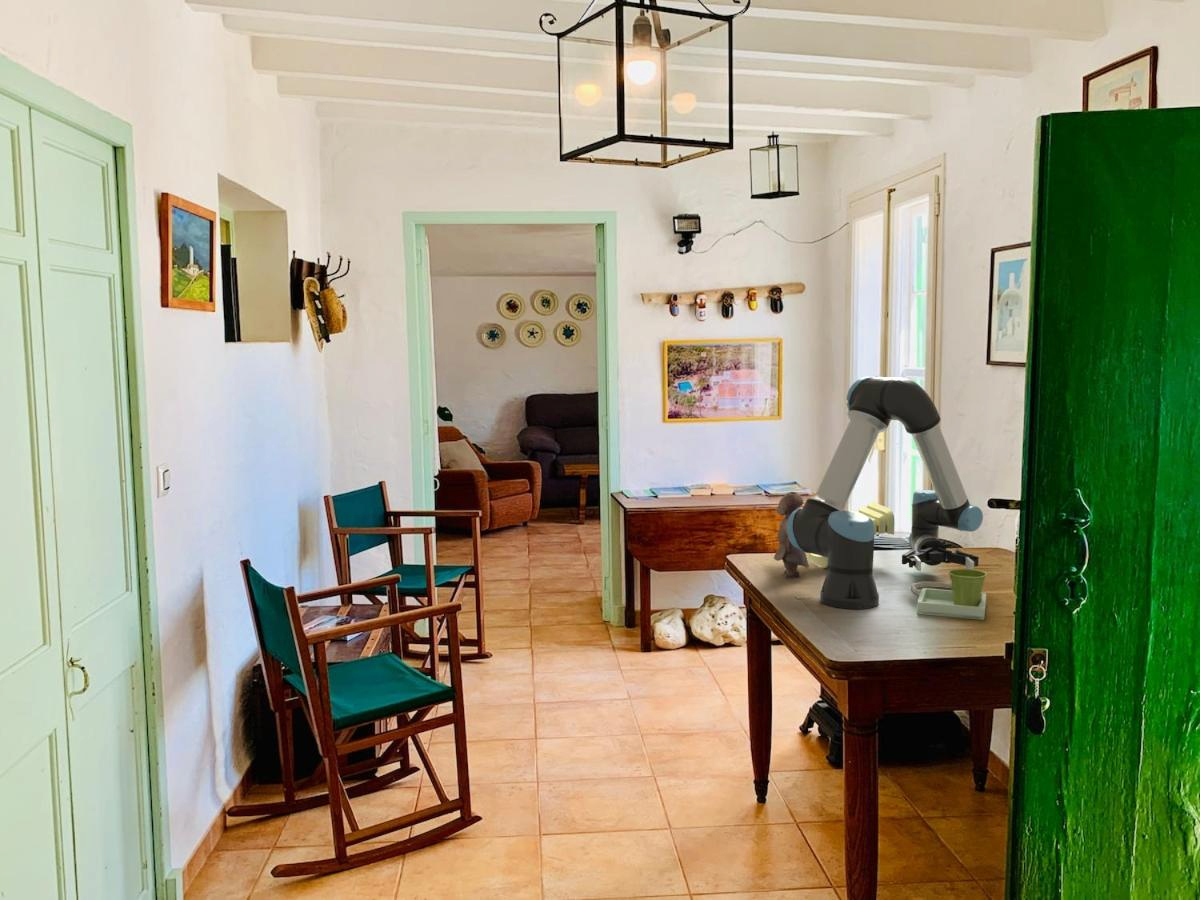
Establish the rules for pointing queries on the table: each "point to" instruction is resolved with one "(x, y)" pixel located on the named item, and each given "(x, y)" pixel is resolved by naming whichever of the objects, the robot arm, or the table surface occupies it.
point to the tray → (948, 605)
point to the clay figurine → (786, 549)
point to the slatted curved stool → (882, 524)
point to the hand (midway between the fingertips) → (945, 566)
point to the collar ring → (921, 584)
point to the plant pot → (967, 586)
